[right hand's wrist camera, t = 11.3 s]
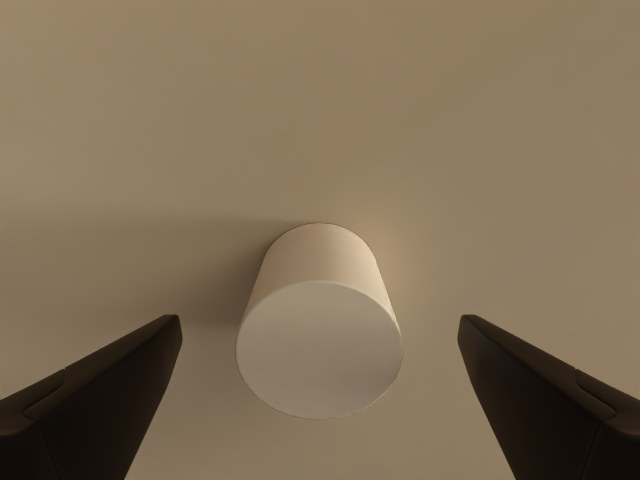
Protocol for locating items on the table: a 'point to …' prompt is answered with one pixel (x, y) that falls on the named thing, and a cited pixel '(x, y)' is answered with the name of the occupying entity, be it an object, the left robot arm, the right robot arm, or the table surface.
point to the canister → (319, 326)
